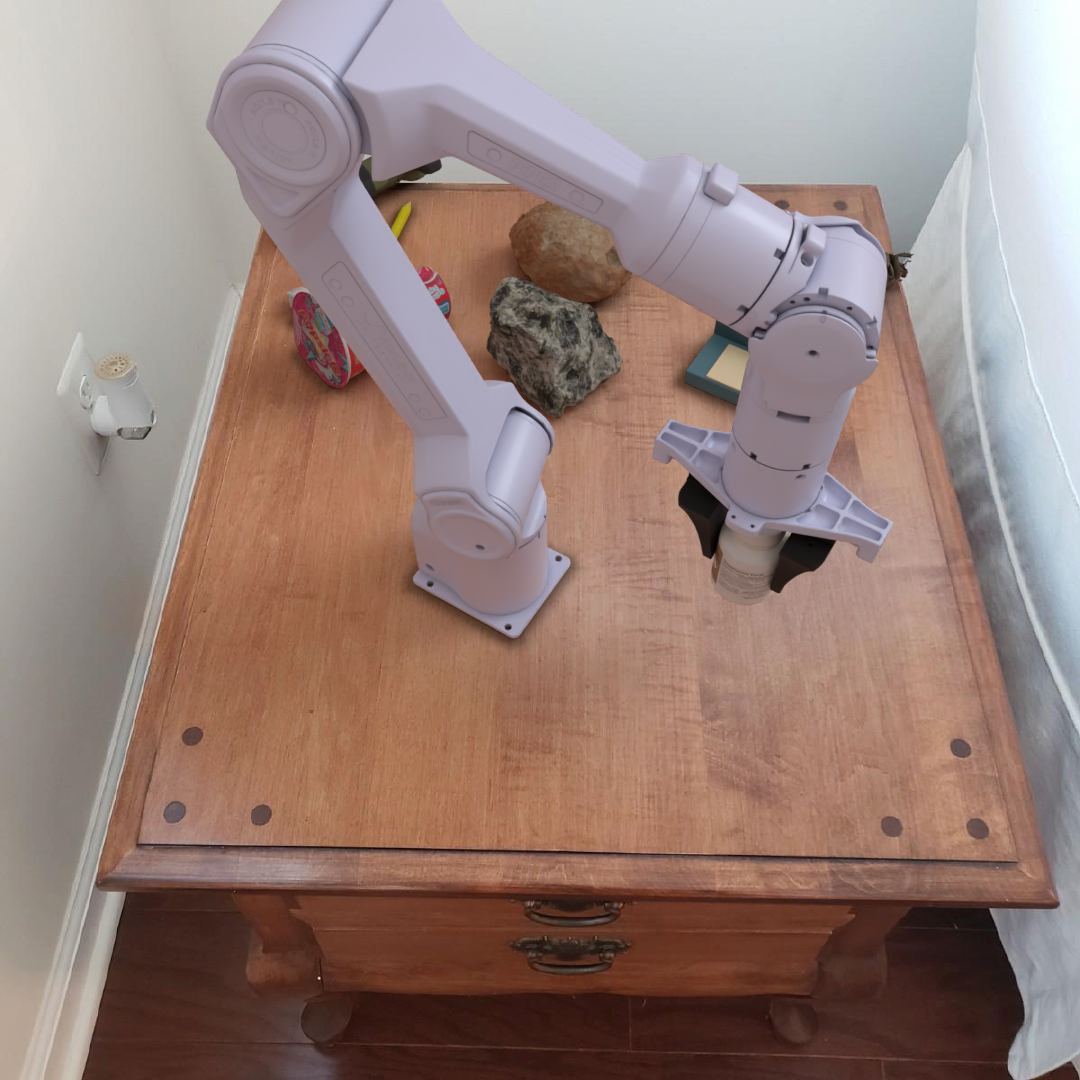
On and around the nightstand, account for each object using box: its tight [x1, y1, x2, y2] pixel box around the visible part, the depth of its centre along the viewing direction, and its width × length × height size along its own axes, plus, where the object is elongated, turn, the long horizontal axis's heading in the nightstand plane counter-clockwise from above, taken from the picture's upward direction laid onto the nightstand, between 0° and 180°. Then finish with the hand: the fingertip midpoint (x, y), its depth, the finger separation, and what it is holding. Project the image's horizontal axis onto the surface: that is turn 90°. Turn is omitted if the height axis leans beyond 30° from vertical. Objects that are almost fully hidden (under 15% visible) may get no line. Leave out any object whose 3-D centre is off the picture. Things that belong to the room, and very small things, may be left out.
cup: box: [291, 265, 452, 389], centre depth 89 cm, size 9×8×12 cm
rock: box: [486, 274, 624, 419], centre depth 86 cm, size 12×8×10 cm
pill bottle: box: [710, 522, 790, 607], centre depth 66 cm, size 4×4×8 cm
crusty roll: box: [508, 200, 633, 304], centre depth 94 cm, size 10×13×10 cm
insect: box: [884, 251, 915, 292], centre depth 92 cm, size 5×9×3 cm
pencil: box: [390, 200, 412, 240], centre depth 98 cm, size 16×1×1 cm, turn 164°
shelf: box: [684, 319, 750, 406], centre depth 87 cm, size 9×6×4 cm, turn 58°
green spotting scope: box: [359, 156, 443, 202], centre depth 101 cm, size 7×18×10 cm
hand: (746, 563), depth 68 cm, fingers closed on pill bottle, 4 cm apart
